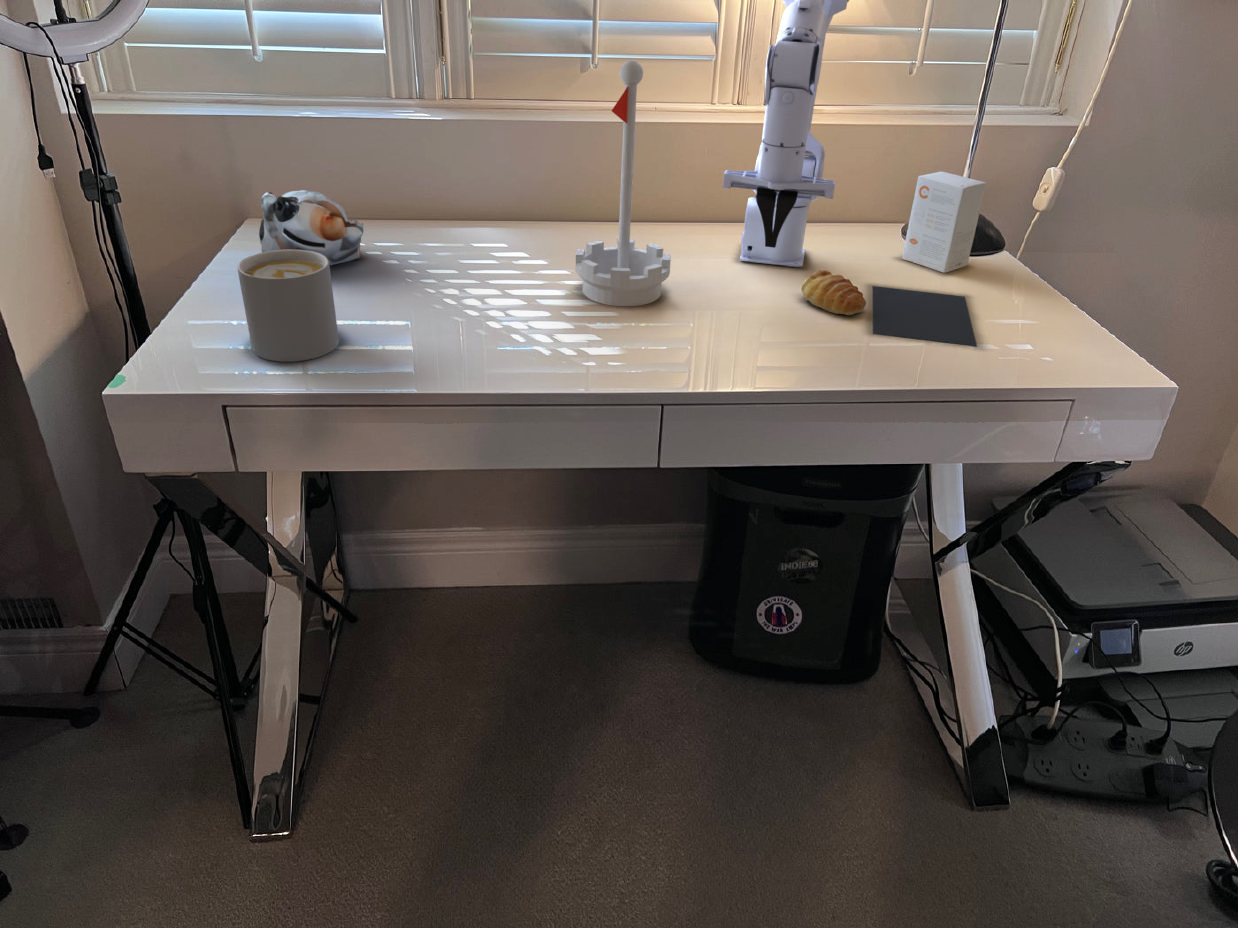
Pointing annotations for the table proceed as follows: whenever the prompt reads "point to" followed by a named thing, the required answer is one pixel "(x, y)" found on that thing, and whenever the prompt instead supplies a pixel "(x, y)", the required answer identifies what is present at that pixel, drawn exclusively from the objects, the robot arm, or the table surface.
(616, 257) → the flag stand
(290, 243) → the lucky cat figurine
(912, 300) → the placemat
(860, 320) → the table surface
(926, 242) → the small box
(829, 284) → the pastry
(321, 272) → the coffee mug
